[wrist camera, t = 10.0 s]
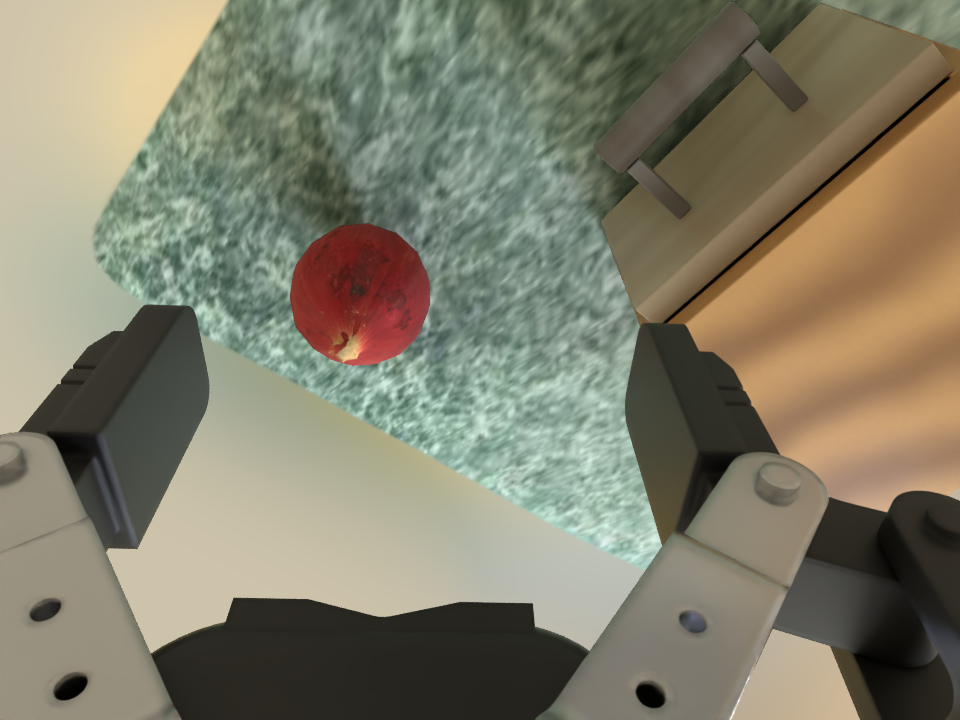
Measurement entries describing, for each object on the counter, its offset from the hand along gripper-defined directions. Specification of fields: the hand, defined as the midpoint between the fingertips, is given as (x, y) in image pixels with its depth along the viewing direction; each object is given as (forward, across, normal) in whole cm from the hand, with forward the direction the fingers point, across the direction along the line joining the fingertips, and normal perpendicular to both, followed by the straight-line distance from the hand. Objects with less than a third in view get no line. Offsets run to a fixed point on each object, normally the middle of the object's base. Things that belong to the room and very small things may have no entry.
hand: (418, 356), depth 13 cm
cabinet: (+19, -17, +6) cm, 26 cm away
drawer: (+18, -14, +3) cm, 23 cm away
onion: (+20, +3, +7) cm, 21 cm away
